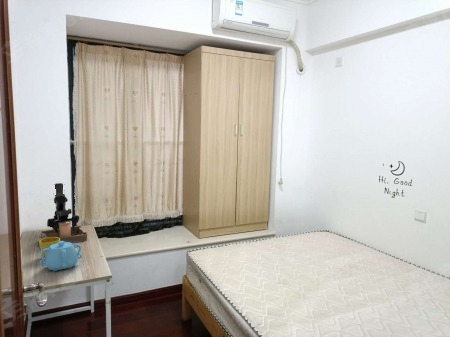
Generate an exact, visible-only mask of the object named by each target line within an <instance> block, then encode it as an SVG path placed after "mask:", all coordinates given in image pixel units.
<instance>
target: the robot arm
mask: <svg viewBox="0 0 450 337" xmlns="http://www.w3.org/2000/svg"><path fill="white" fill-rule="evenodd" d="M54 185H55V189H56V195H54V198H53V202H54V204H55V211H54V215H53V217H52V218H48V219H47V220H46V226H47V227H48V228H51V229H54V230H55V231H56V232H57V233H58V229H59V222H62V221H71V227H72V230H73V231H74V226H76V224H77V223H79V221H80V215H78V214H77V215H72V213H73V212H72V209H71V208H68V209H66V204H67V202H69V199H68V198H67V196H66V194H65V193H64V194H63V183H62V182H59V183H58V182H57V183H55V184H54ZM69 215H72V216H71V217H69Z"/></svg>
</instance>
